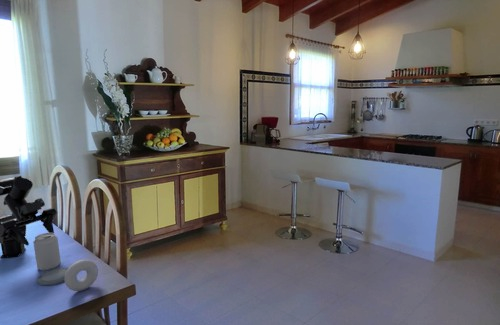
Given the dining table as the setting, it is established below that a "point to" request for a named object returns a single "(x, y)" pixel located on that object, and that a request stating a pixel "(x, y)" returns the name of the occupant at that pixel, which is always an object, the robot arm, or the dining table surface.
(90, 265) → the donut
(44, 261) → the can
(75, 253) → the dining table surface
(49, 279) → the dish
